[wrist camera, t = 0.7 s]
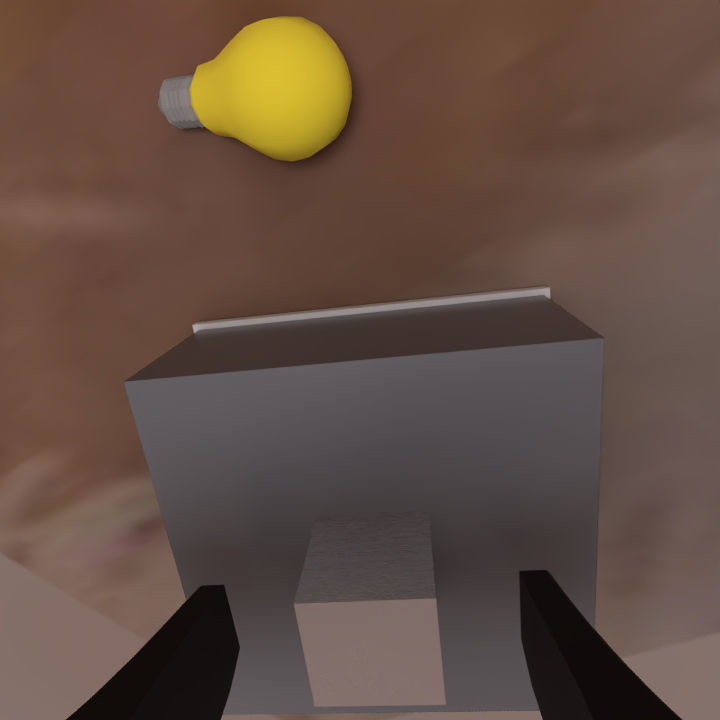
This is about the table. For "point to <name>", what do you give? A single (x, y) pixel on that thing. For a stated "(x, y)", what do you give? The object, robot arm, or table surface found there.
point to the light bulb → (267, 90)
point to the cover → (380, 496)
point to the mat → (374, 307)
